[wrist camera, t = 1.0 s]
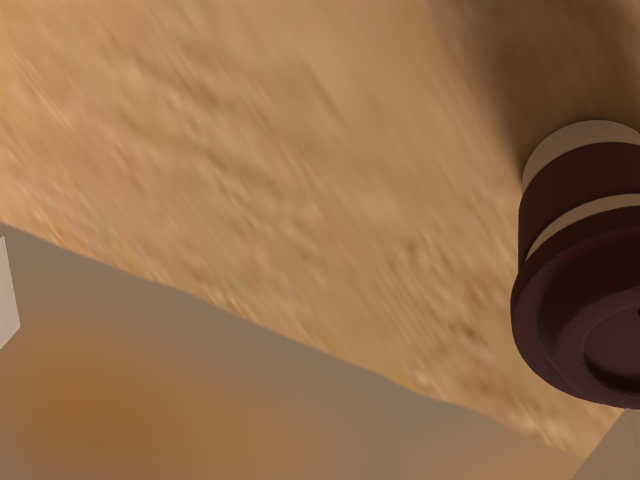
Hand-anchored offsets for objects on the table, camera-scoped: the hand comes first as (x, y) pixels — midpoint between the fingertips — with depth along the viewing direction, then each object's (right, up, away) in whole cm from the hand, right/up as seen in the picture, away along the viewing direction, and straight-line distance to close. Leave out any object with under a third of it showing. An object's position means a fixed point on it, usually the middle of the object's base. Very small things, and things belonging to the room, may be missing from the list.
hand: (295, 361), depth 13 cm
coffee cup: (+16, +7, +23) cm, 29 cm away
